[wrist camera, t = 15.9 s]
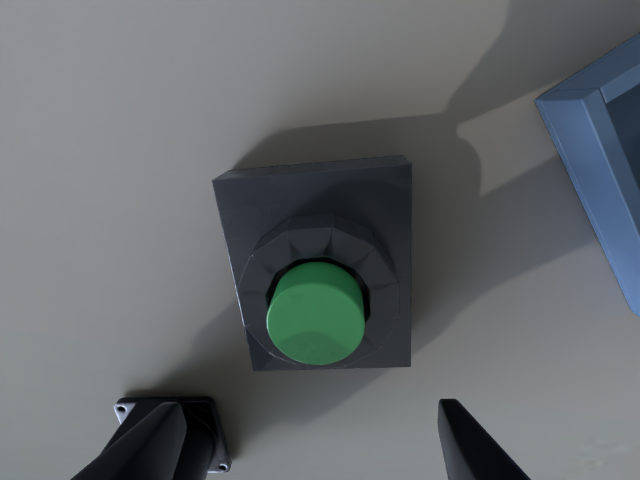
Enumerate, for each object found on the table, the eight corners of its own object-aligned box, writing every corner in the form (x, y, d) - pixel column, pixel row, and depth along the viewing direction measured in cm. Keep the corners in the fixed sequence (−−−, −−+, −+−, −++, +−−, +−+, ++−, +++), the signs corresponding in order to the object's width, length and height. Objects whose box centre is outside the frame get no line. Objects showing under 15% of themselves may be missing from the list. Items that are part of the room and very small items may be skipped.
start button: (364, 334, 14) (367, 364, 13) (281, 337, 15) (273, 367, 13) (360, 257, 13) (362, 280, 11) (268, 263, 13) (258, 285, 12)
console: (403, 338, 19) (418, 396, 15) (262, 343, 19) (243, 400, 16) (402, 154, 15) (422, 172, 11) (228, 170, 16) (192, 190, 12)
